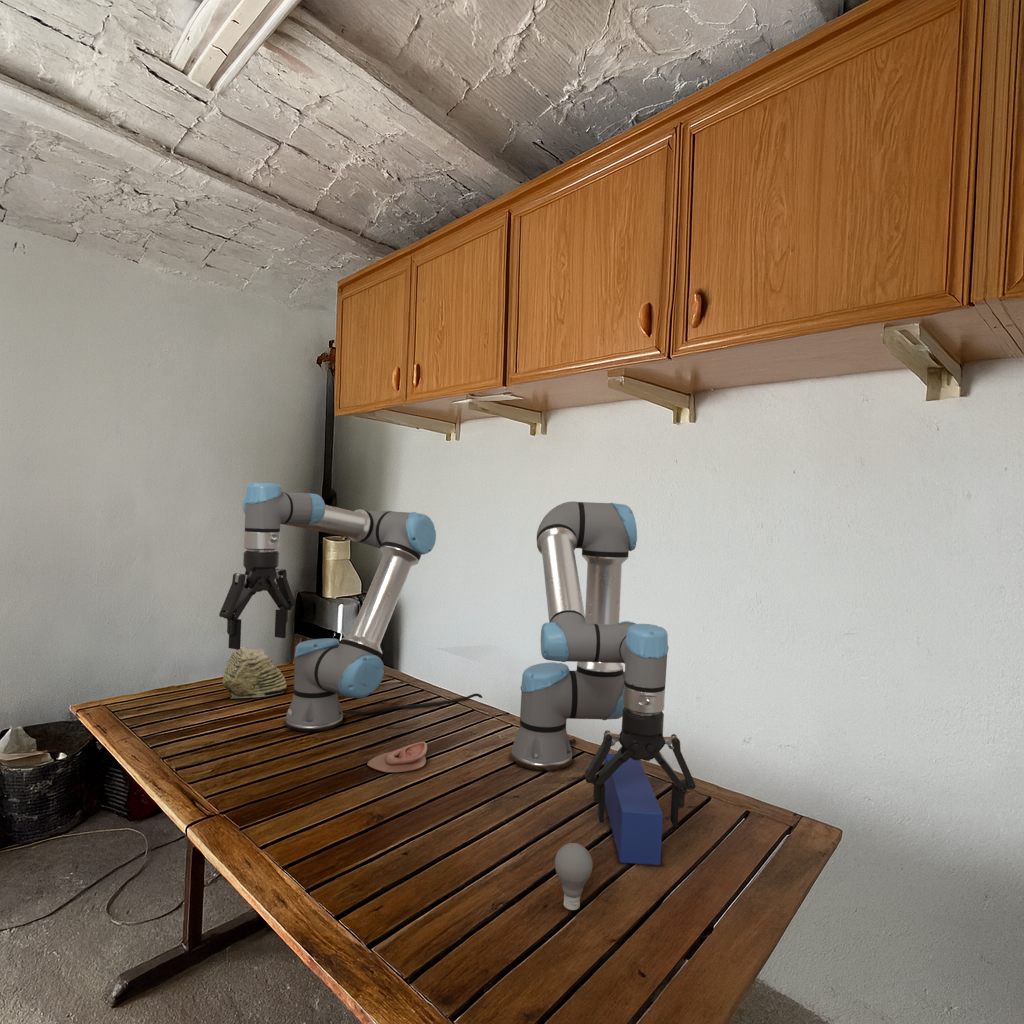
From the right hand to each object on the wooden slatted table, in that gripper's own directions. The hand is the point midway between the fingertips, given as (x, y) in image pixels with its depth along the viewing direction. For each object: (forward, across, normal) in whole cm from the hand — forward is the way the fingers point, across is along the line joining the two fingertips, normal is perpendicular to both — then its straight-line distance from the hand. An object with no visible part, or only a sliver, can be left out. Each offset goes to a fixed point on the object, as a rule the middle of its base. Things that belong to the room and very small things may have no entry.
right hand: (637, 821), depth 118 cm
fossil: (+7, -106, +76) cm, 131 cm away
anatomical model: (+6, -52, +32) cm, 61 cm away
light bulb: (+5, -13, -18) cm, 23 cm away
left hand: (-23, -84, +25) cm, 90 cm away
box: (+6, 0, +9) cm, 10 cm away
